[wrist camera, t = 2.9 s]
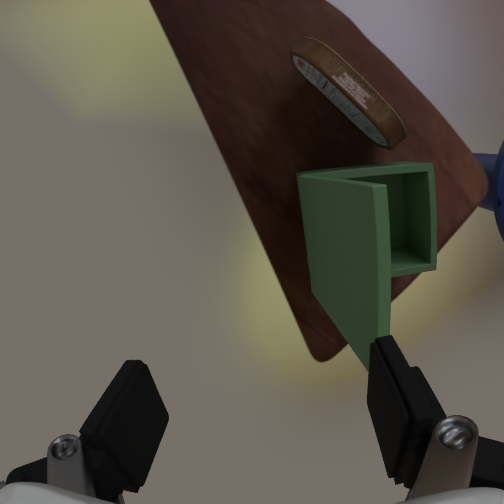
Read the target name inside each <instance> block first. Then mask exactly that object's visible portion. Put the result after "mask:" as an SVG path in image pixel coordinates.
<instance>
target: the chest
mask: <svg viewBox="0 0 504 504" xmlns="http://www.w3.org/2000/svg"><path fill="white" fill-rule="evenodd" d="M304 175H308V176H318V177H328V178H337V179H346V180H354V181H362V182H370V183H377V184H385V185H386V186H387V197H388V210H389V225H390V248H391V278H392V277H398V276H404V275H410V274H415V273H421V272H426V271H432V270H436V263H437V210H436V190H435V176H434V165H433V163H423V162H406V161H402V162H389V163H376V164H365V165H355V166H345V167H336V168H327V169H318V170H310V171H302V172H296V178H297V184H298V176H304ZM298 191H299V184H298ZM299 198H300V191H299ZM300 206H301V213H302V221H303V228H304V220H303V212H302V205H301V198H300ZM304 236H305V228H304ZM305 244H306V236H305ZM306 253H307V244H306ZM307 262H308V266H309V261H308V253H307Z"/></svg>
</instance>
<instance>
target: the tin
mask: <svg viewBox="0 0 504 504" xmlns="http://www.w3.org/2000/svg"><path fill="white" fill-rule="evenodd" d="M290 57H291V61H292V63H293V64H294V66H295V67H296V68H297V69H298V71H299V72H300V73H301V74H302V75H303V76H304V77H305V78H306V79H307V80H308V81H309V82H310V83H311V84H312V85H313V86H314V87H316V88H317V89H318V90H319V91H320V92H321V93H322V94H323V95H324V96H325V97H326V98H327V99H328V100H329V101H330V102H331V103H332V104H333V105H334V106H335V107H337V108H338V109H339V110H340V111H341V112H342V113H343V114H344V115H345V116H346V117H347V118H348V119H349V120H350V121H351V122H352V123H353V124H354V125H355V126H356V127H357V128H358V129H359V130H360V131H361V132H362V133H363V134H364V135H365V136H366V137H368V138H369V139H370V140H371V141H372V142H374V143H375V144H376V145H378V146H379V147H381V148H385V149H388V150H392V149H394V148H395V147H396V146H397V145H398V144H399V143H400V142H401V141H402V140H403V139H405V138H406V137H407V130H406V127H405V125H404V123H403V122H402V120H401V119H400V117H399V116H398V114H397V113H396V112H395V110H394V109H393V108H392V107H391V106H390V105H389V104H388V103H387V101H386V100H385V99H384V98H383V97H382V96H381V95H380V94H379V93H378V92H377V91H376V90H375V89H374V88H373V87H372V86H371V85H370V84H369V83H368V82H367V81H366V80H365V79H364V78H363V77H362V76H361V75H360V74H359V73H358V72H357V71H356V70H355V69H354V68H353V67H352V66H351V65H349V64H348V63H347V62H346V61H345V60H344V59H343V58H342V57H341V56H340V55H338V54H337V53H336V52H335V51H334V50H333V49H331V48H330V47H329V46H327V45H325V44H324V43H323V42H321V41H319V40H317V39H315V38H312V37H308V36H305V37H303V38H302V39H301V41H300V42H299V43H298V44H296V45H295V46H294V47H293V48H292V49H291V50H290Z"/></svg>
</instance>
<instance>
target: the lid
mask: <svg viewBox="0 0 504 504" xmlns="http://www.w3.org/2000/svg"><path fill="white" fill-rule="evenodd" d="M298 184H299V191H300V198H301V205H302V212H303V220H304V228H305V236H306V244H307V253H308V261H309V270H310V280H311V289H312V293H313V295H314V296H315V297H316V299H317V300H318V301H319V303H320V304H321V306H322V307H323V308H324V310H325V311H326V313H327V314H328V315H329V317H330V318H331V320H332V321H333V322H334V324H335V325H336V327H337V328H338V330H339V331H340V332H341V334H342V335H343V337H344V338H345V339H346V341H347V342H348V344H349V345H350V346H351V348H352V349H353V351H354V352H355V354H356V355H357V357H358V358H359V359H360V361H361V362H362V364H363V365H364V367H365V368H366V369H367V371H368V372H369V354H370V343H373V342H375V338H377V337H382V336H388V335H389V334H390V312H391V248H390V225H389V210H388V197H387V186H386V185H385V184H377V183H370V182H362V181H354V180H346V179H337V178H328V177H318V176H308V175H304V176H298Z"/></svg>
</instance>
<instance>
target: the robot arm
mask: <svg viewBox="0 0 504 504" xmlns="http://www.w3.org/2000/svg"><path fill="white" fill-rule="evenodd" d="M368 376H369V377H368V390H367V391H368V392H367V405H368V409H369V412H370V416H371V419H372V422H373V425H374V429H375V432H376V436H377V439H378V443H379V446H380V450H381V453H382V457H383V461H384V464H385V468H386V472H387V475H388V477H389V478H392V477H394V481H395V485H396V484H401V483H404V487H406V488H409V489H410V490H409V492H408V494H407V497H406V499H405V501H402V502H399V503H395V504H504V443H503V442H499V441H495V440H491V439H488V438H484V437H480V436H479V434H478V433H479V432H478V428H477V425H476V424H475V423H474V422H473V421H472V420H471V419H469V418H467V417H464V416H460V415H454V416H449V417H447V416H446V414H445V413H444V411H443V409H442V407H441V405H440V403H439V402H438V400H437V398H436V396H435V394H434V393H433V391H432V389H431V387H430V385H429V384H428V382H427V380H426V378H425V377H424V375H423V373H422V371H421V370H420V368H419V367H417V366H415V367H411V368H410V366H409V365H408V363H407V361H406V359H405V357H404V355H403V354H402V352H401V350H400V348H399V347H398V345H397V343H396V341H395V340H394V338H393V336H392V335H388V336H382V337H377V338H375V342H373V343H370V354H369V375H368ZM168 421H169V415H168V412H167V410H166V408H165V406H164V403H163V401H162V399H161V397H160V395H159V392H158V390H157V388H156V385H155V383H154V380H153V378H152V376H151V373H150V371H149V368H148V366H147V365H146V364H144V363H143V362H142V361H141V360H126V361H125V363H124V364H123V365H122V367H121V369H120V370H119V371H118V373H117V374H116V376H115V377H114V379H113V380H112V382H111V383H110V385H109V386H108V388H107V389H106V390H105V392H104V393H103V395H102V397H101V398H100V400H99V401H98V402H97V404H96V406H95V407H94V409H93V410H92V412H91V413H90V415H89V416H88V418H87V419H86V421H85V422H84V424H83V425H82V427H81V429H80V430H79V432H80V434H81V435H80V437H79V438H78V437H77V436H75V435H71V434H67V435H62V436H60V437H58V438H56V439H54V440H53V441H52V442H51V444H50V446H49V447H48V452H47V457H45V458H43V459H40V460H37V461H35V462H32V463H29V464H26V465H23V466H21V467H18V468H16V469H14V470H13V471H11V472H10V473H9V475H8V476H7V480H6V483H5V482H4V481H2V482H0V504H125V503H124V499H123V496H122V493H123V490H125V491H130V492H134V493H138V490H139V488H140V486H143V485H144V483H145V481H146V478H147V476H148V473H149V470H150V468H151V465H152V462H153V460H154V457H155V455H156V452H157V449H158V447H159V444H160V442H161V439H162V437H163V434H164V432H165V429H166V426H167V423H168Z"/></svg>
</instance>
